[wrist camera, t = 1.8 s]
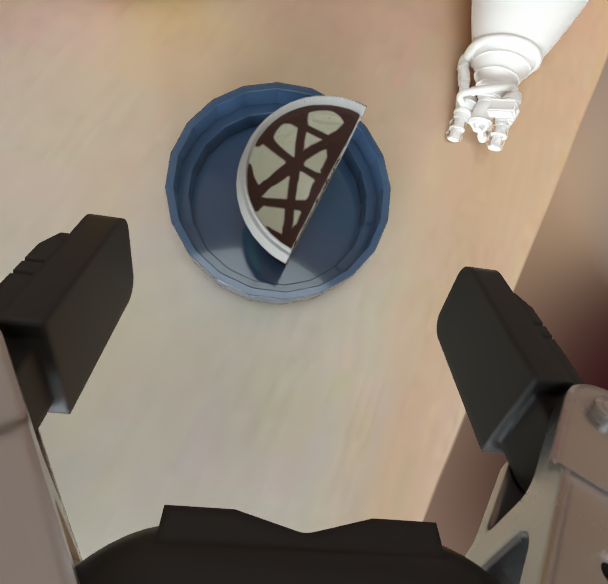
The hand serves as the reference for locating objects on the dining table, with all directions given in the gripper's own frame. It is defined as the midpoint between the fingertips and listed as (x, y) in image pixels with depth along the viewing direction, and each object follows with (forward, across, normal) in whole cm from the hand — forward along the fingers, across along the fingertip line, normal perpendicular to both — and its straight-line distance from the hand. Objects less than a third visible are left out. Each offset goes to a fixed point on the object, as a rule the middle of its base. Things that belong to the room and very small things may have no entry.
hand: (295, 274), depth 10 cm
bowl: (+26, 0, +11) cm, 28 cm away
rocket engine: (+38, -18, -2) cm, 42 cm away
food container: (+26, 0, +11) cm, 28 cm away
